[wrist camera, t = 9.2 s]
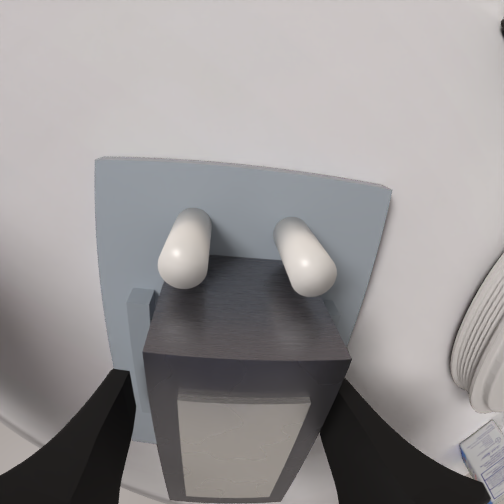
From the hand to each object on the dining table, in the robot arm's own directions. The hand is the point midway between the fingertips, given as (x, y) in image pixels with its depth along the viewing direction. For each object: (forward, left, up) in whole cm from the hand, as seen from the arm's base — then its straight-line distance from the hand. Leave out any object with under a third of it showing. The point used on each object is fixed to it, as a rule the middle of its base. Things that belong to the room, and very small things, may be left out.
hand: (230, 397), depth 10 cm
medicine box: (+28, -16, -3) cm, 32 cm away
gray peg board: (0, 0, -3) cm, 3 cm away
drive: (0, 0, -2) cm, 2 cm away
